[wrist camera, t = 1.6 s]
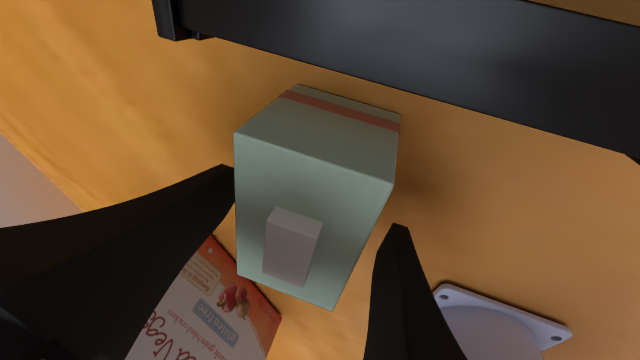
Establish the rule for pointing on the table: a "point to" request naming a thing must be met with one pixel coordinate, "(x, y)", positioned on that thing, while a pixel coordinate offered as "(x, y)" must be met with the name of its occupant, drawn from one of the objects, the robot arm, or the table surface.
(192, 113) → the table surface
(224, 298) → the cracker box
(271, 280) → the tissue box
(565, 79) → the rack
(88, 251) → the robot arm
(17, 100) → the table surface
